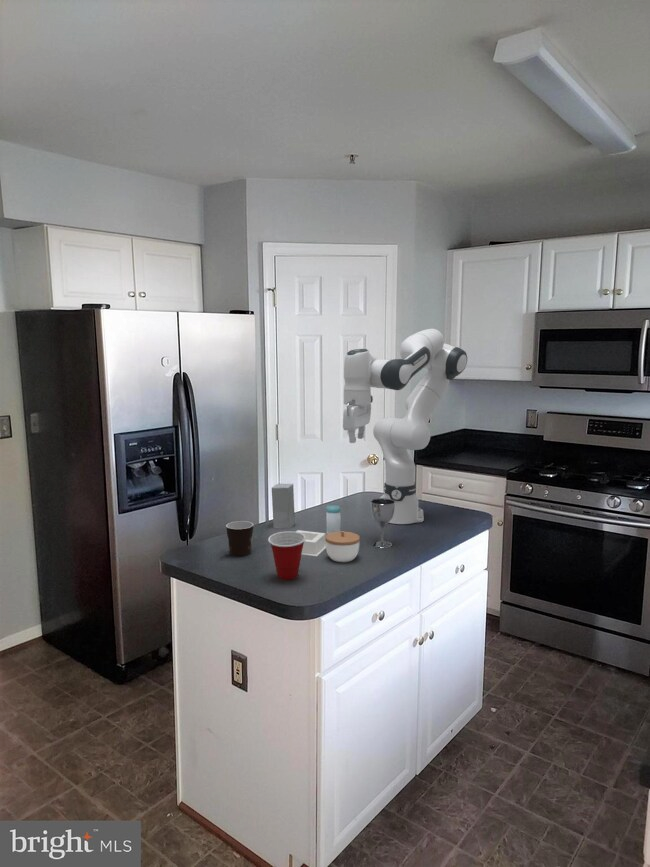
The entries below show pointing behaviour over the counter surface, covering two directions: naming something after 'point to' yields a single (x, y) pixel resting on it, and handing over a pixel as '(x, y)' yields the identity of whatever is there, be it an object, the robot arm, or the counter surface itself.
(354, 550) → the lidded jar
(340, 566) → the counter surface
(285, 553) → the plastic cup
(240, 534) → the coffee mug
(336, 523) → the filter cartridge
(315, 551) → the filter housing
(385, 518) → the wine glass
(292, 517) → the skincare box
